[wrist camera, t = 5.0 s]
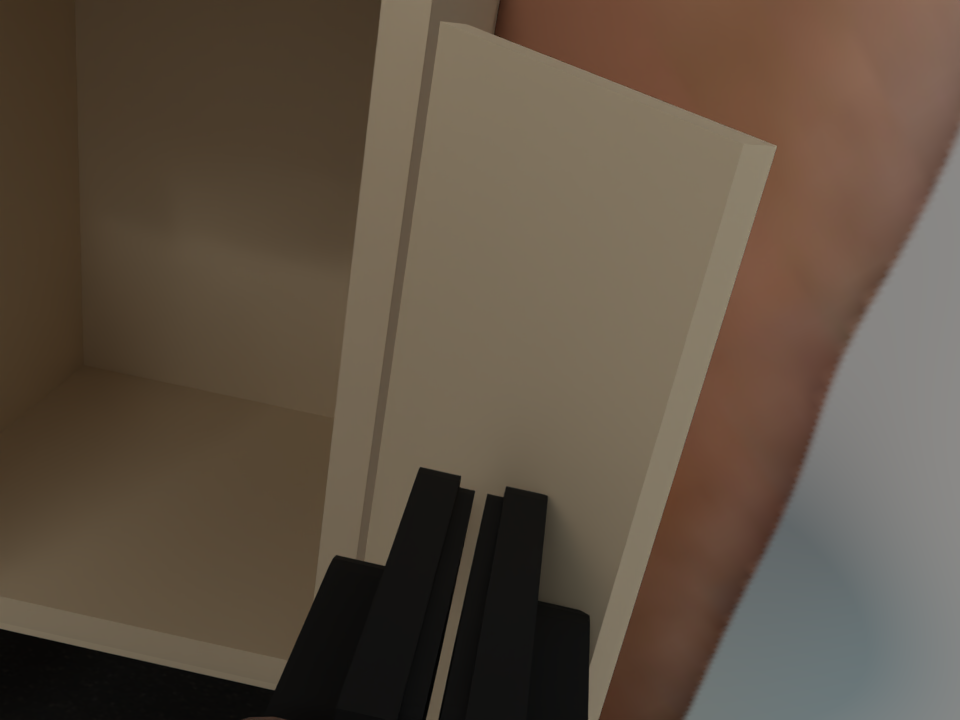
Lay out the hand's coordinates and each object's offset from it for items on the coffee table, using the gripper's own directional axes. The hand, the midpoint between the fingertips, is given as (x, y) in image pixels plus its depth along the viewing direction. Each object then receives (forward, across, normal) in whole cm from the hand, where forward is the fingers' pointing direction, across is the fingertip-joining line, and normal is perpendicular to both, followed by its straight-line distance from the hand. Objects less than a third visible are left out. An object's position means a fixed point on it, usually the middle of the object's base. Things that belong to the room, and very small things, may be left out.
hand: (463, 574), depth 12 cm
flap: (+1, 0, 0) cm, 1 cm away
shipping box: (+14, +8, 0) cm, 16 cm away
